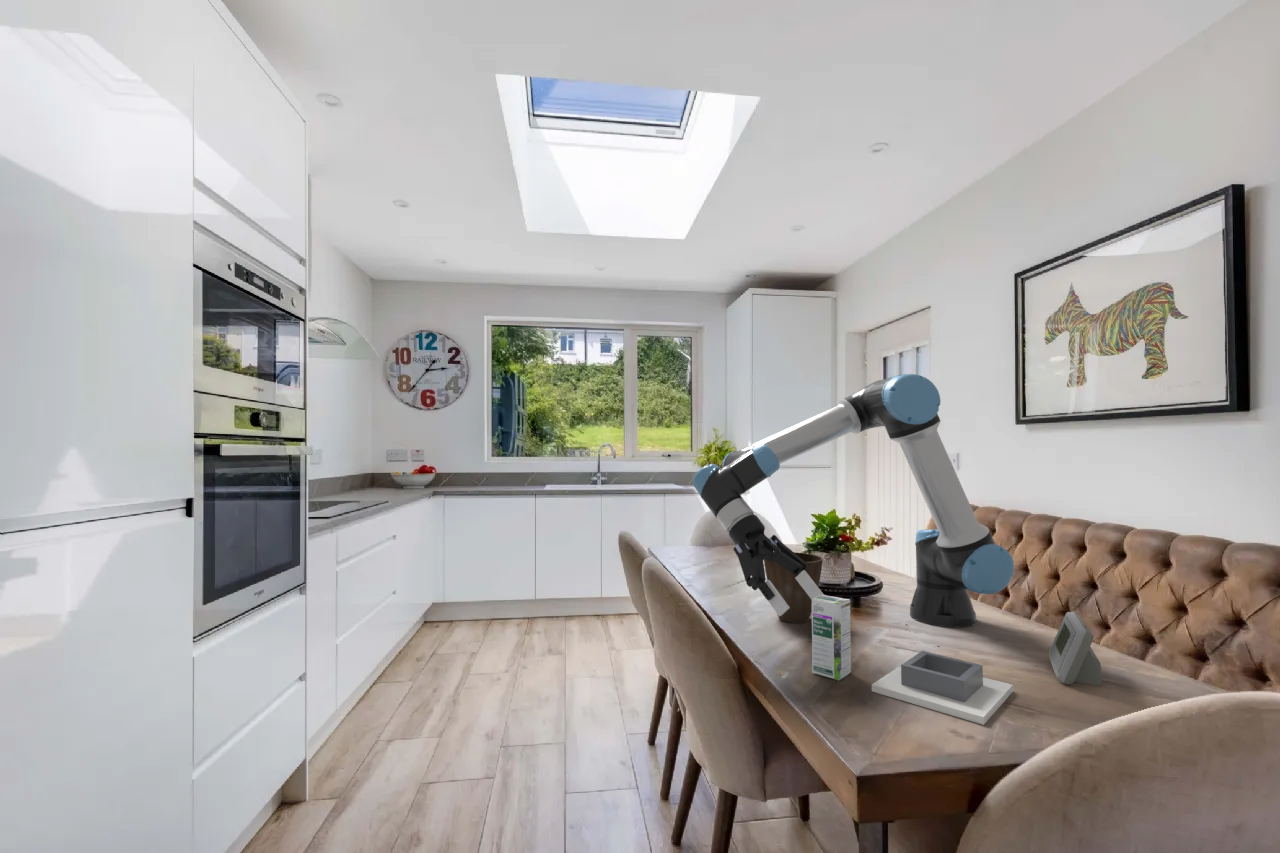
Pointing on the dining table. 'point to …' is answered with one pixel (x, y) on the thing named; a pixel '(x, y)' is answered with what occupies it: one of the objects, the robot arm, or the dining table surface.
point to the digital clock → (1075, 653)
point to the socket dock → (945, 686)
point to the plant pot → (794, 587)
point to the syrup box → (831, 637)
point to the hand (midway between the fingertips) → (802, 605)
